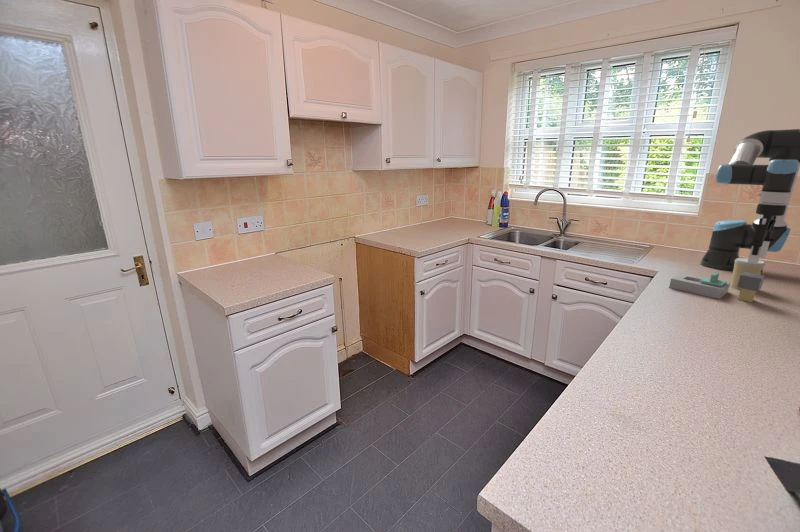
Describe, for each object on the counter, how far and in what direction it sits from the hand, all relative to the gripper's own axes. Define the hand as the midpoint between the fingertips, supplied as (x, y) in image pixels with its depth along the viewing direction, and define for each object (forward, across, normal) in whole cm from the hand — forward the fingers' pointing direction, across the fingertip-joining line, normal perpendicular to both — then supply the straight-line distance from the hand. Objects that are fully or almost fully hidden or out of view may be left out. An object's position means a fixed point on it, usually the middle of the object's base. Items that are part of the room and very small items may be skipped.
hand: (756, 260), depth 140 cm
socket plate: (+16, +1, -15) cm, 22 cm away
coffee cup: (+16, -17, -4) cm, 24 cm away
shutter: (+12, +1, -11) cm, 16 cm away
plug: (+16, 0, 0) cm, 16 cm away
